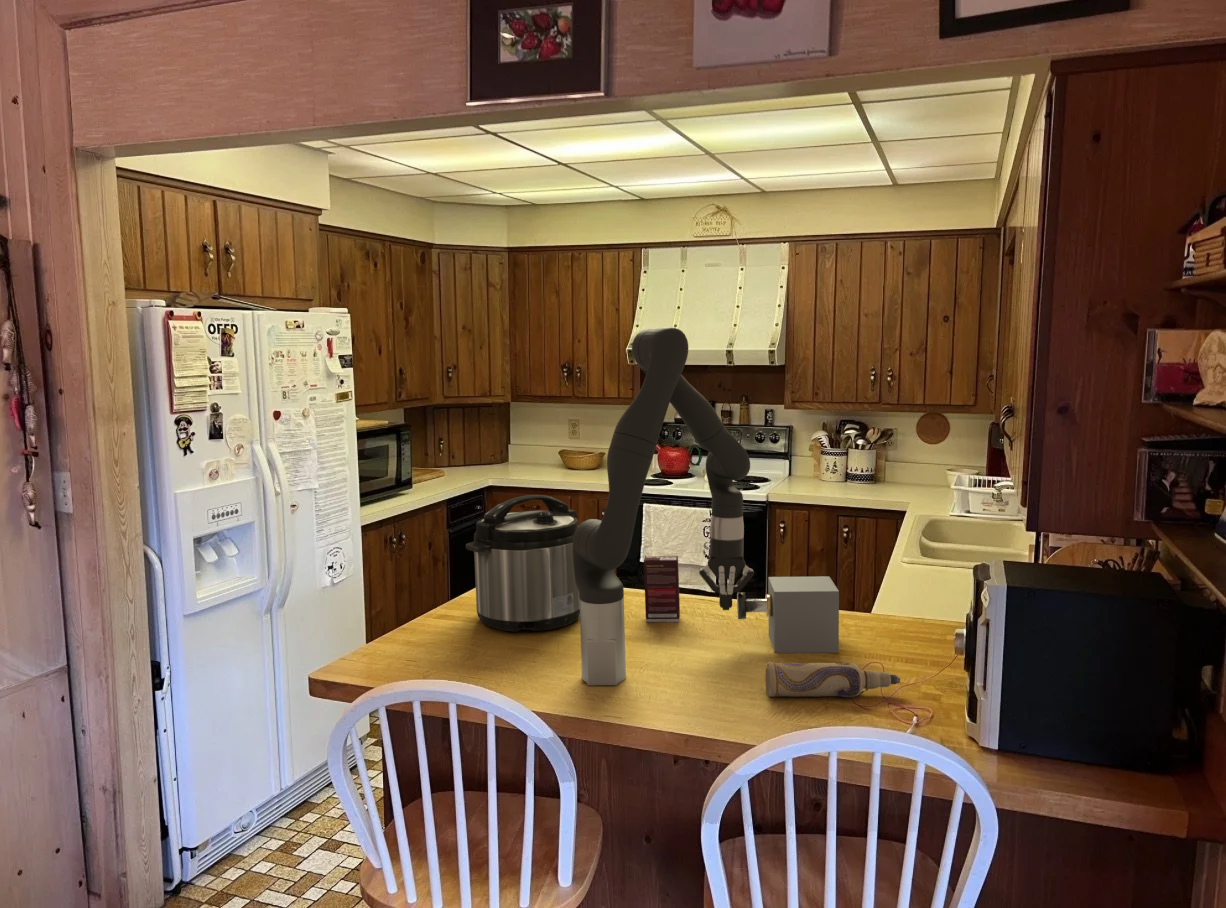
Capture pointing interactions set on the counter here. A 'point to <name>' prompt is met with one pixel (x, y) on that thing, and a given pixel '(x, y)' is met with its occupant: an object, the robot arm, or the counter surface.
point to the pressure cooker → (526, 566)
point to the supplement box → (661, 589)
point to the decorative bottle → (823, 679)
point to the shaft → (753, 605)
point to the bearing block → (804, 615)
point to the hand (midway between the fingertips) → (725, 609)
